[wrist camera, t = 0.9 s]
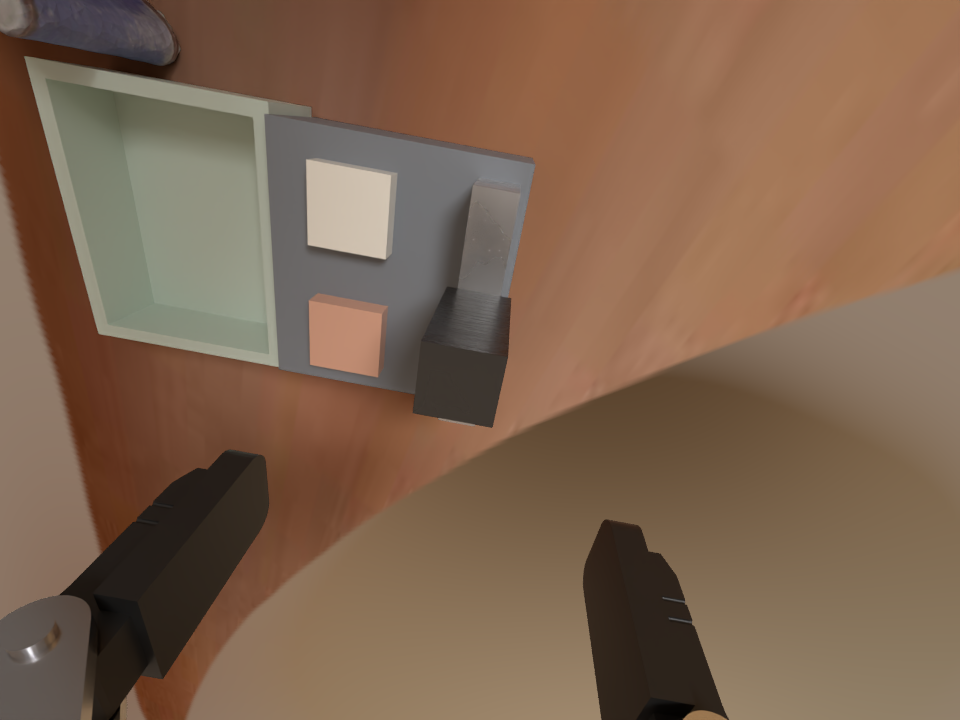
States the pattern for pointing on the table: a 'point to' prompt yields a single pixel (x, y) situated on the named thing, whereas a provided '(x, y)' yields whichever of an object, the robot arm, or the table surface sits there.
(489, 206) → the scraper
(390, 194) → the tile cream
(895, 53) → the table surface
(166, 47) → the flask
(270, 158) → the grey slotted block
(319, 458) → the table surface
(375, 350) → the tile terracotta
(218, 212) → the box
